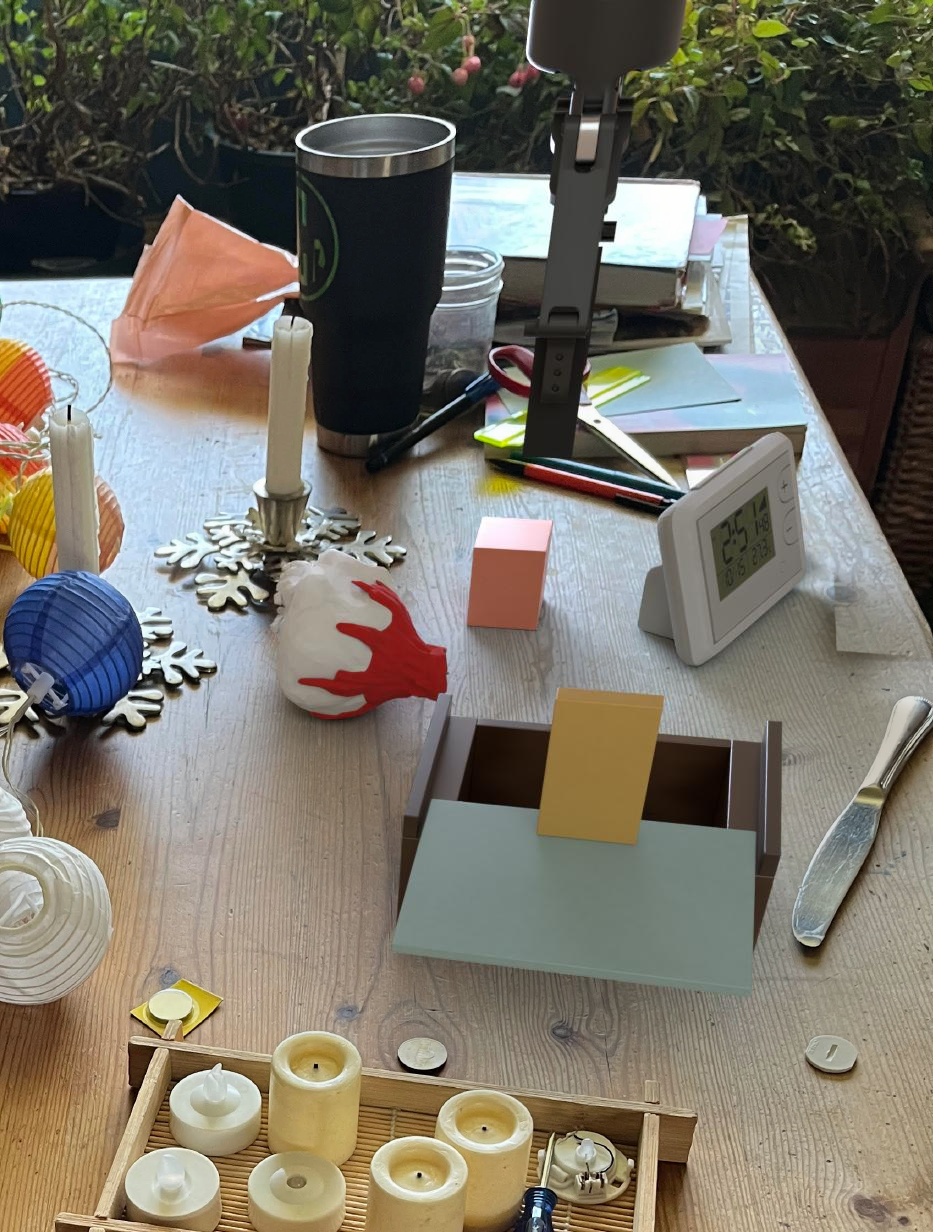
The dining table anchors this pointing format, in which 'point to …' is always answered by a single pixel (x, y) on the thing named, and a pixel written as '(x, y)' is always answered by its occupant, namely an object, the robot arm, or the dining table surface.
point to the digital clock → (726, 551)
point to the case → (676, 793)
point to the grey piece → (586, 869)
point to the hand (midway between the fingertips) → (555, 407)
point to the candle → (349, 639)
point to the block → (509, 572)
